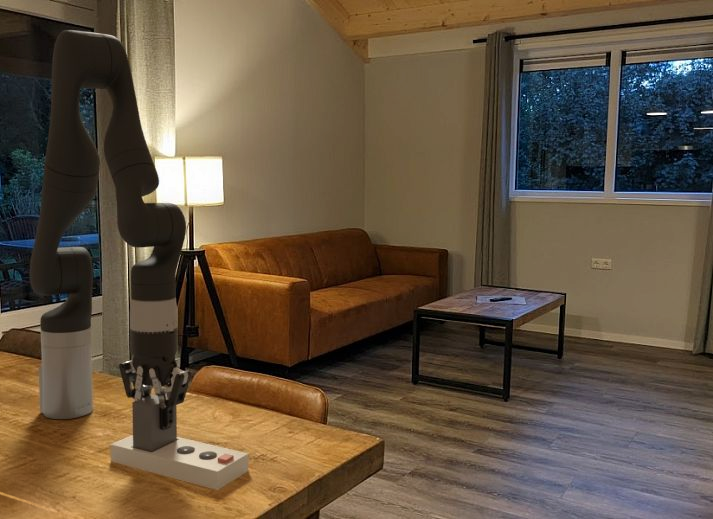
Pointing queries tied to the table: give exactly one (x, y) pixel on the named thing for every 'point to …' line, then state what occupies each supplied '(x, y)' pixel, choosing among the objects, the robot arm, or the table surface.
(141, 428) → the charcoal plug
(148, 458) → the power strip
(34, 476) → the table surface
